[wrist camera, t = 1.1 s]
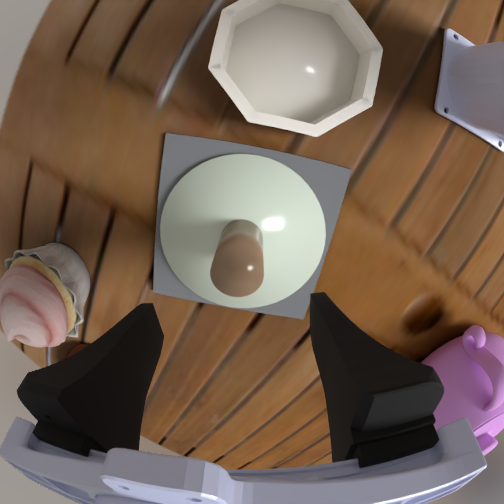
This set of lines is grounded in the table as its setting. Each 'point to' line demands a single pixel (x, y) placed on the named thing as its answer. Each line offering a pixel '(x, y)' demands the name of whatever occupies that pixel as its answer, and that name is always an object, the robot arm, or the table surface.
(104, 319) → the table surface
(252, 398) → the table surface
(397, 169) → the table surface
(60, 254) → the cupcake
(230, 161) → the lid
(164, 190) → the mat
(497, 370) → the teapot
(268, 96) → the bowl
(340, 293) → the table surface
